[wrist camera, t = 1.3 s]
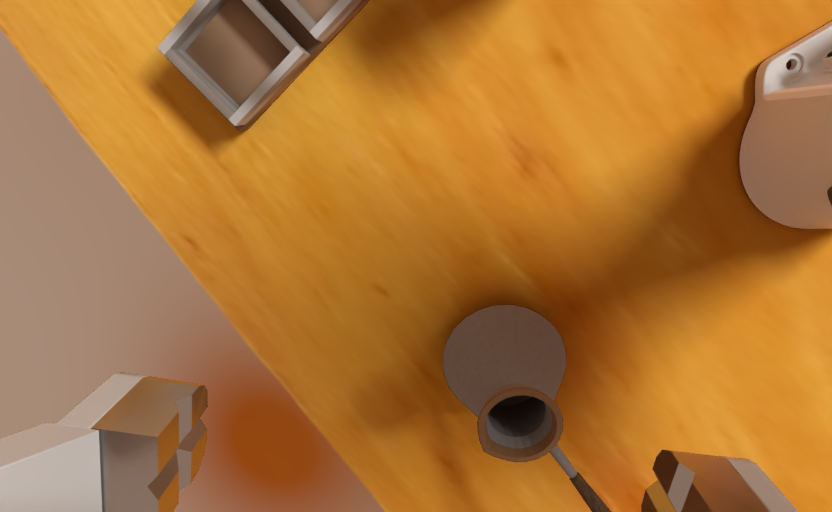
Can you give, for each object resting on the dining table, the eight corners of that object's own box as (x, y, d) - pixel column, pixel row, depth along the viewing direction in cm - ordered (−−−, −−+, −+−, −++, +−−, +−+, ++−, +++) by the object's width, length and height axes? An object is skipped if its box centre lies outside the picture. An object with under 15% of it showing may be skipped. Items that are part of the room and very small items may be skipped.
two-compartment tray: (332, -121, 41) (320, -146, 36) (403, -37, 42) (400, -52, 38) (178, 59, 45) (150, 55, 41) (247, 129, 46) (228, 133, 42)
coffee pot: (418, 342, 52) (411, 436, 38) (510, 270, 49) (540, 341, 35) (549, 481, 56) (589, 613, 42) (641, 421, 54) (716, 540, 39)
